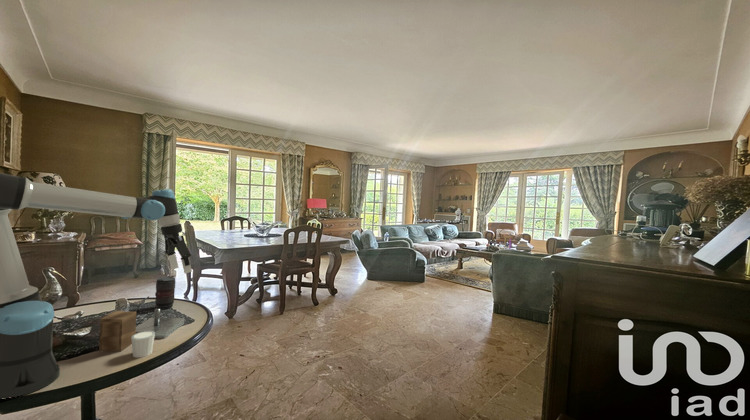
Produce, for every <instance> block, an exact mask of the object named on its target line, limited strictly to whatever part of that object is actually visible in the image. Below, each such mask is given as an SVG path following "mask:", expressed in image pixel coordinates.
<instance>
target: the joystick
mask: <svg viewBox="0 0 750 420" xmlns="http://www.w3.org/2000/svg"><path fill="white" fill-rule="evenodd" d="M161 312H162V311H161V308H157V307H156V308H154V315H153V317H150V318H148V319H147V320H145V321H144V322H142V323H140V324H138V325H137V326H136V334H137V333H140V332H144V331H153V332H155V337H154V339H167V338H168V337H169V336H170V335H171V334H173V333H174V332H175V331H176V330H178V329H180V328H181V327H182V326H183V325H184V324H185V318H183V317H161Z"/></svg>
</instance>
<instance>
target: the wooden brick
mask: <svg viewBox="0 0 750 420" xmlns="http://www.w3.org/2000/svg"><path fill="white" fill-rule="evenodd" d="M136 325H137V311H125V310H124V311H118V310H115V311H114V312H112V313H111V312H110V313H109V314H107V315H105V316H103V317H101V318H100V321H99V342H98V343H99V347H98V351H99V352H122V351H124V350H125V349H126V348H128V347H130V346H132V339H131V337H132V336H133V335H134V334H136V327H137V326H136Z"/></svg>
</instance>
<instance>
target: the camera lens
mask: <svg viewBox="0 0 750 420" xmlns="http://www.w3.org/2000/svg"><path fill="white" fill-rule="evenodd" d="M175 289H176V278H175V277H174V276H162V277H158V278H156V282H155V295H154V296H155V306H156V309H157V308H161V310H169V309H171V308H172V307H173V305H174V302H175V292H176V291H175Z"/></svg>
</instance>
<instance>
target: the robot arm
mask: <svg viewBox="0 0 750 420" xmlns="http://www.w3.org/2000/svg"><path fill="white" fill-rule="evenodd" d="M24 208H32V209H41V210H43V209H44V210H52V211H62V212H72V213H82V214H91V215H93V214H94V215H102V216H112V217H121V218H122V219H125V220H128V219H140V220H141V219H142V220H147V221H157V220H158V223H159V224H158V225H159V226H160V231H161V235H162V236H163V238H164V253H165V254H166V255H167V256H168V261H169V265H170V269H171V271H172V270H176V269H178V268H180V267H179V264H178V263H179V262H178V260H177V259H178V258H177V254H176V251H175V250H177V252H178V254H179V255H180V260H181V263H182V264H181V265H182V268H183V273H184V274H188V273H189V274H190V273H192V272H193V271H192V266H191V265H192V264H191V262H190V261H191V260H190V257H192V255H191V252H190V249H189V248H188V245H187V244H186V241H185V239H184V235H180V233H181V232H183V227H182V224H181V219H180V217H181V215H179V210H178V205H177V201H176V195H175V193H174V190H173V189H172V188H171V189H170V188H165V189H158V190H157V189H156V190H153V191H152V192H151V195H150V196H149V195H148V196H144V197H135V196H127V195H122V194H115V193H109V192H108V193H107V192H101V191H95V190H87V189H81V188H74V187H67V186H61V185H54V184H48V183H43V182H42V183H41V182H34V181H31V180H30V179H29V178H28V177H25V176H19V175H14V174H9V173H8V174H7V173H3V172H0V399H2V398H9V397H15V398H18V397H17V396H19V397H22V396H25V395H27V394H28V395H29V394H31V393H34V392H36V391H38V390H42V389H44V388H45V387H47V386H48V385H51V384H52V383H54V382H55V381H56V380H57V379H58V378H59V377H60V371H61V370H60V369H61V368H60V364H58V363H57V359H56V358H55V355H54V353H53V341H54V339H53V336H54V333H53V332H54V318H55V310H54V306H53V305H52V304H51V303H50V302H47V301H43V300H42V297H41V295H40V292H39V290H40V289H39V288H38V287H36V286H33V285H30V281H29V280H28V276H27V273H26V270H25V266H24V263H23V259H22V257H21V254H20V249H19V247H18V244H17V240H16V238H15V234H14V232H13V229H12V228H13V227H12V224H11V221H10V218H9V214H10V212H12V211H13V210H17V211H20V210H22V209H24ZM21 395H22V396H21Z"/></svg>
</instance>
